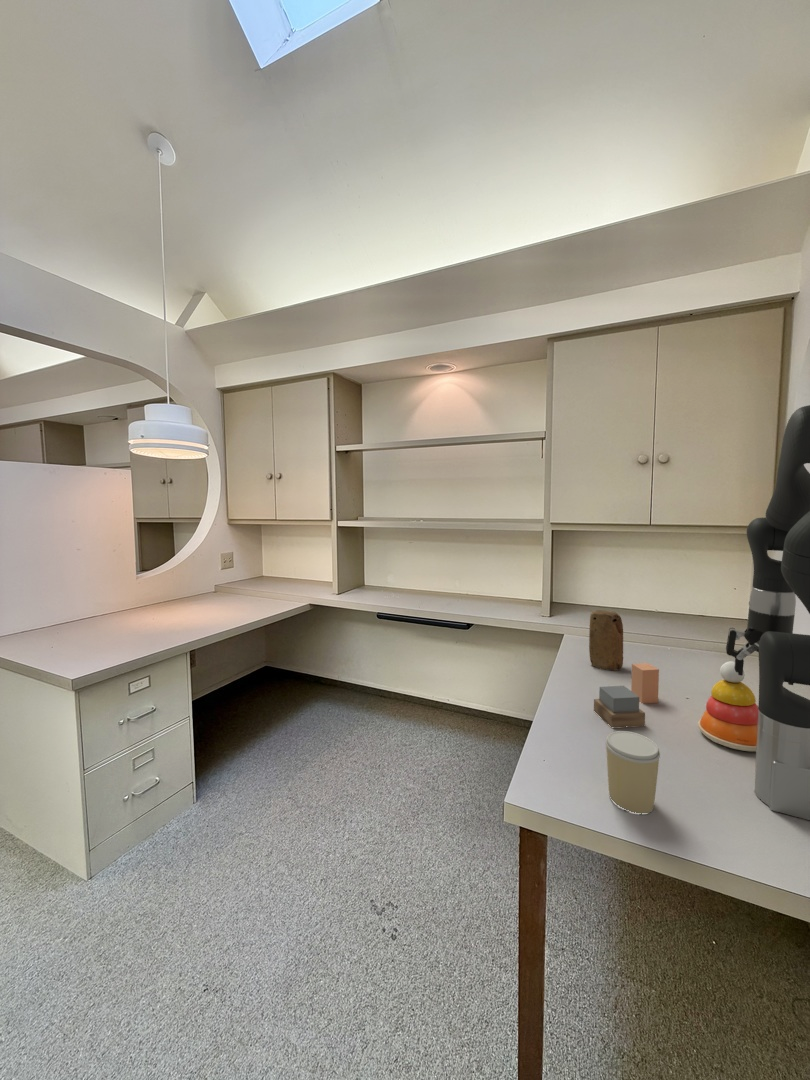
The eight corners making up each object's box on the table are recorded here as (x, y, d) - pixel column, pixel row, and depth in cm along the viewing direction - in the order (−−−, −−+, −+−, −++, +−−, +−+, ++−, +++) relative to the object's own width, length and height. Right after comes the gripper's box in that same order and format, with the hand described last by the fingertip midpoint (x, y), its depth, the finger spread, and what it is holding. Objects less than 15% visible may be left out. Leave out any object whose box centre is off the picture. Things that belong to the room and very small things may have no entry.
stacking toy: (763, 732, 105) (767, 657, 103) (778, 763, 92) (782, 678, 91) (695, 719, 112) (697, 648, 110) (700, 745, 100) (703, 667, 98)
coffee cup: (639, 784, 87) (641, 729, 86) (669, 817, 77) (671, 756, 76) (595, 786, 86) (596, 730, 85) (620, 819, 77) (621, 758, 76)
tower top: (639, 711, 109) (639, 697, 109) (613, 713, 109) (613, 698, 109) (623, 699, 116) (623, 685, 116) (599, 700, 116) (599, 686, 116)
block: (587, 666, 149) (587, 612, 148) (593, 660, 155) (594, 607, 153) (620, 673, 142) (621, 616, 141) (625, 666, 148) (626, 612, 147)
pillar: (658, 702, 121) (658, 669, 121) (641, 703, 121) (642, 670, 120) (646, 694, 126) (647, 663, 126) (631, 695, 126) (631, 663, 125)
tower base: (644, 727, 109) (645, 712, 109) (611, 729, 108) (612, 715, 108) (624, 710, 118) (624, 697, 118) (593, 712, 117) (593, 699, 117)
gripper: (731, 608, 91) (725, 677, 94) (821, 619, 83) (812, 694, 86) (728, 600, 98) (723, 665, 100) (812, 609, 90) (804, 679, 92)
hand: (764, 678), depth 93 cm, fingers open, 8 cm apart
